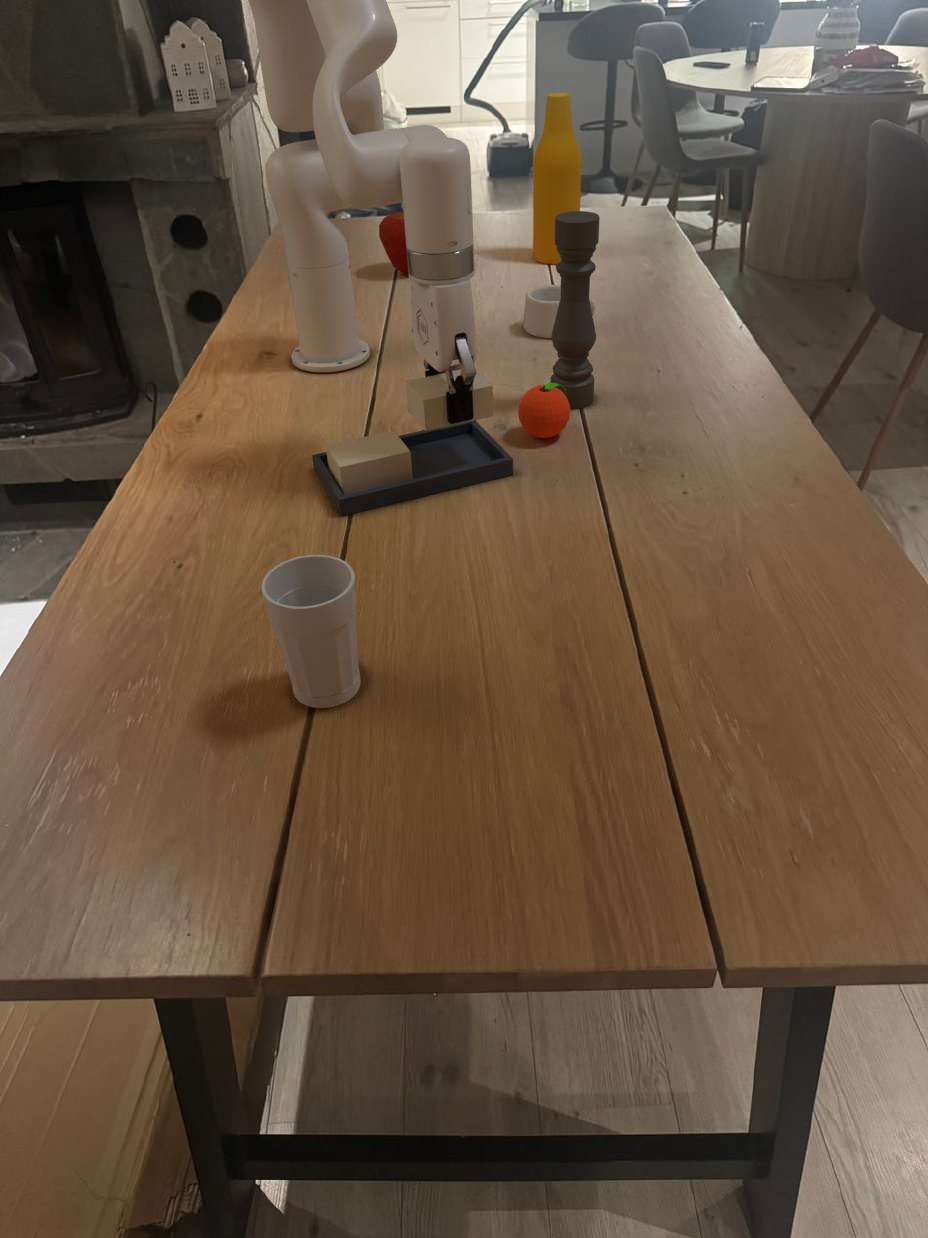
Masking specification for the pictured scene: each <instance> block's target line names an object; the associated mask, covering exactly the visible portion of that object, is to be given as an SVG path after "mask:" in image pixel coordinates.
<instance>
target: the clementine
mask: <svg viewBox="0 0 928 1238" xmlns="http://www.w3.org/2000/svg"><path fill="white" fill-rule="evenodd" d="M559 385H560V384H557V383H551V382H548V383H544V384H538V385H535V386H533V387H531V388H530V389H528V390H527V391H526V392H525V393H524V395H523V396H522V397H521V399H520V401H519V404H518V409H517V414H518V421H519V422H520V424H521V427H522V428H523V429H524V431H526V432H527V434H529V435H531V436H533V437H535V438H539V439H549V438H553V437H554V436H556V435H558V434H559V433H562V431H563V430H564V429H565V428H566V426H567V424H568V422H569V420H570V416H571V409H570V404H569V402H568V400H567V397H566V396H565V394H564V393H563V392H562V391H561V390H559V389H558V388H556V386H559ZM561 386H562V385H561ZM562 387H563V388H564V390H565V392H566V388H565V387H564V386H562ZM566 394H567V392H566Z"/></svg>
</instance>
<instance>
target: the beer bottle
mask: <svg viewBox="0 0 928 1238" xmlns="http://www.w3.org/2000/svg"><path fill="white" fill-rule="evenodd" d="M546 95H547V96H546V103H545V112H544V124H543V129H542V130H543V131H542V134H541V137H540V138H539V142H538V143H537V146H536V150H535V152H534V157H533V162H532V163H533V169H532V171H533V173H532V174H533V176H532V177H533V179H532V180H533V183H532V185H533V186H532V187H533V188H532V192H533V201H532V203H533V204H532V210H533V211H532V213H533V214H532V215H533V216H532V218H533V219H532V228H533V229H532V231H533V232H532V256H533V259H534V260H535V261H536V262H538V263H540V264H545V265H557V264H558V263H559V262H560V261H561V258H560V254H559V253H558V251H557V245H555V216H557V215H558V214H561V213H564V212H570V211H581V191H582V189H581V188H582V163H583V161H582V154H581V150H580V146H579V143H578V141H577V138H576V135H575V134H574V128H573V127H574V126H573V115H572V101H571V100H572V99H571V93H569V92H551V93H548V94H546Z"/></svg>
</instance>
